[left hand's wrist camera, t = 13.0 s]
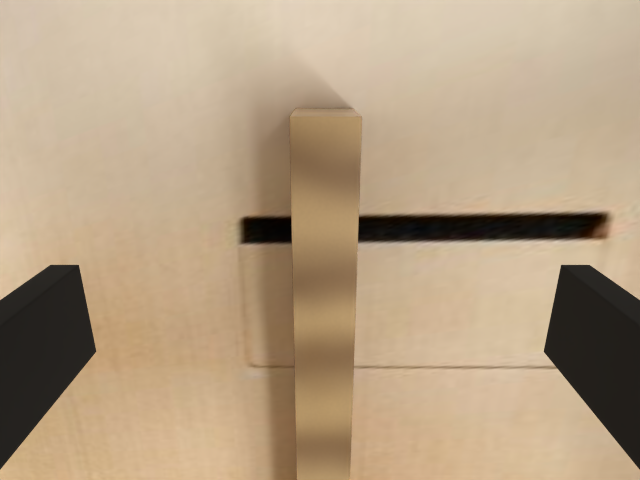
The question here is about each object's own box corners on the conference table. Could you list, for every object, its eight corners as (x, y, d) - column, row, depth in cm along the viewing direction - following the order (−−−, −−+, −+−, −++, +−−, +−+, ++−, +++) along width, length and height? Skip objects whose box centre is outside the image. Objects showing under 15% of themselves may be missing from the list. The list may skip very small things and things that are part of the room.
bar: (295, 108, 35) (289, 116, 28) (353, 108, 35) (362, 116, 28) (303, 575, 54) (300, 651, 47) (340, 575, 54) (344, 651, 47)
